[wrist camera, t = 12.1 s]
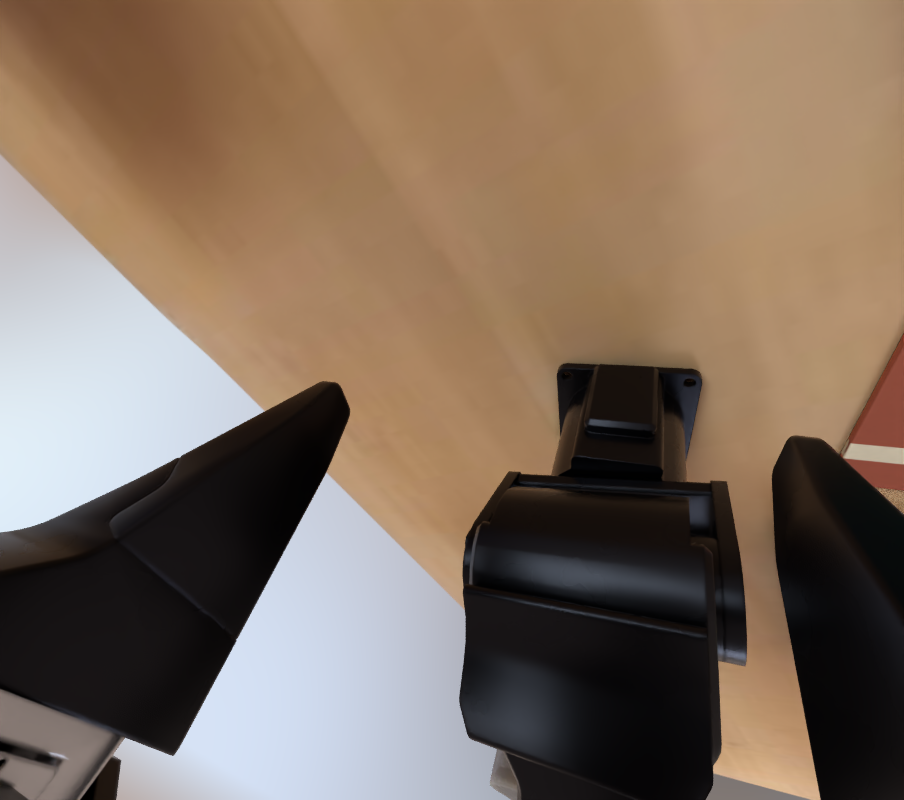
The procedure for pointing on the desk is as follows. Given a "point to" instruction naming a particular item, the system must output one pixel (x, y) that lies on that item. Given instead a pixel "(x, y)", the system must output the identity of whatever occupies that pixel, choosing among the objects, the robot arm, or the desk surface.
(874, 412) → the cloth
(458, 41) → the desk surface
